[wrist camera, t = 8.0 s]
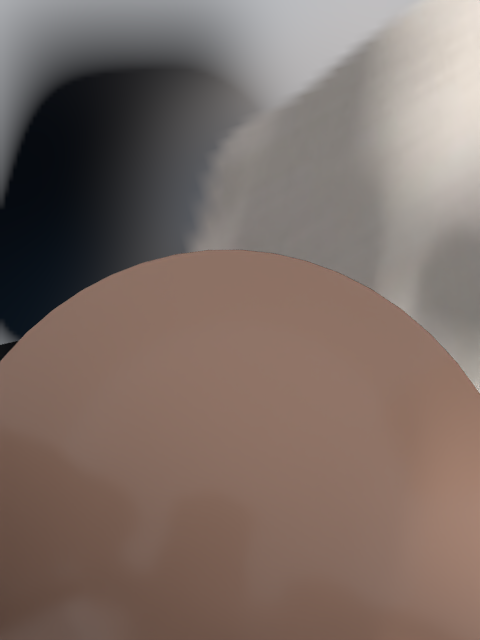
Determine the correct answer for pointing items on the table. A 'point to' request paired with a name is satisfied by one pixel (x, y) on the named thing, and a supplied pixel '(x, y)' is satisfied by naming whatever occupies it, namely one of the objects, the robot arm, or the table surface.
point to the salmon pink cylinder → (236, 462)
